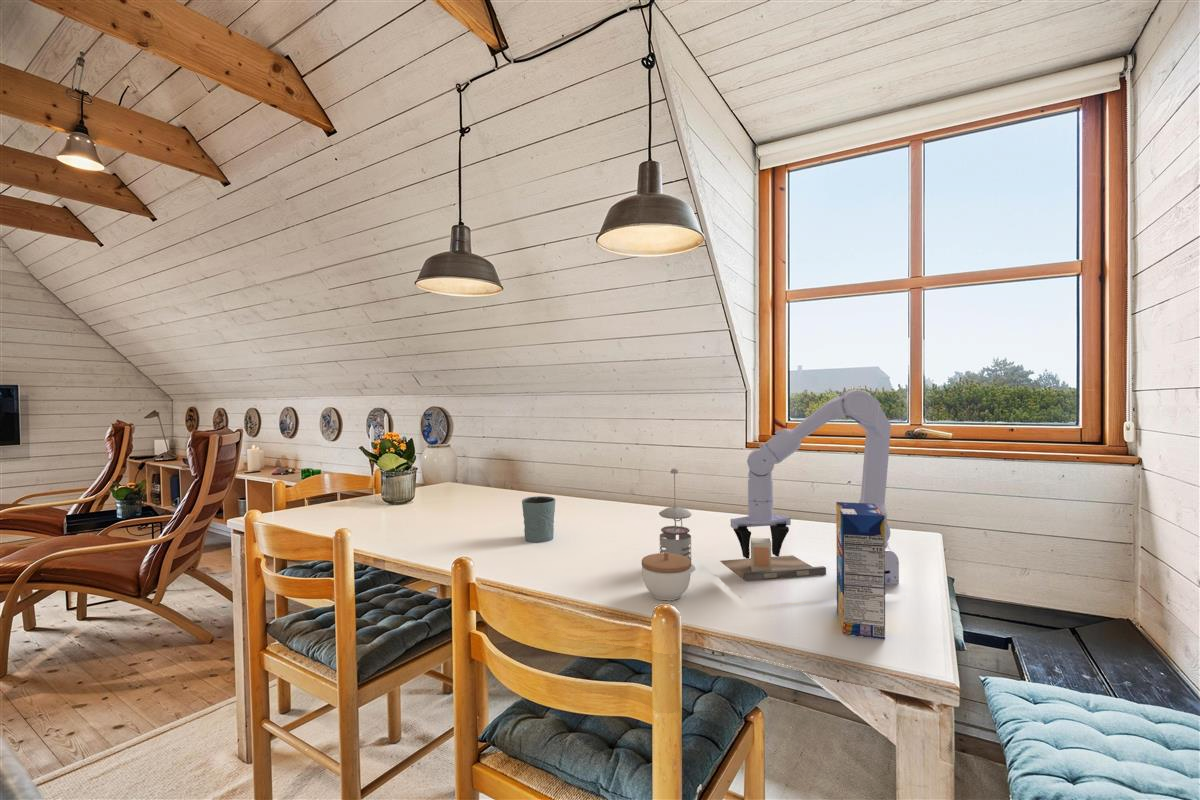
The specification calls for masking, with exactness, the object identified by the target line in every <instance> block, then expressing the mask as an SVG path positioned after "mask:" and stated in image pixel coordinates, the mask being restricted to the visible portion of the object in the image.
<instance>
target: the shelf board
mask: <svg viewBox="0 0 1200 800" xmlns="http://www.w3.org/2000/svg"><path fill="white" fill-rule="evenodd" d="M719 562H720V563H721V564H723V565H724V566H725V567H727V568H729V570H731V571H732V572H733V573H735V574H736V575H737V576H738V577H740V578H741V579H742V580H743V581H745V582H750V581H764V580H775V579H787V578H788V579H790V578H799V577H802V578H803V577H812V576H813V577H814V576H824V575H827V567H826V566H824V565H822V566H821V565H818V566H812V565H810V564H808V563H807V562H805V561H804V560H801V559H800V558H799V557H797V556H795V555H792V554H791V555H779V556H771V570H768V571H755V572H752V569H751V557H749V558H739V559H726V560H719Z"/></svg>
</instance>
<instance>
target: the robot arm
mask: <svg viewBox="0 0 1200 800" xmlns="http://www.w3.org/2000/svg"><path fill="white" fill-rule="evenodd" d="M846 417H848V418H850V419H852V420H854V421H855V422H856V423H857V424H858V426H860V427H861V428H862V429H863V430H864V431H865V442H864V443H865V444H864V454H863V465H862V477H861V478H862V479H861V488H860V489H861V490H860V499H859V501H858V503H869V504H875V505H876V506H877V508H878V509H879V510H880V511H881V512H882V514H883V515H884V516H885V586H890V585H892V586H893V585H899V584H900V574H899V573H900V570H899V569H900V561H899V557H898V555H897V554H896V552H894V551H892V550H891V548H890V546H889V539H890V537H891V529H890V526H889V524H888V512H887V507H886V503H885V502H886V490H887V482H888V481H887V479H888V468H889V457H890V456H889V455H890V442H891V433H892V432H891V431H892V430H891V429H892V426H891V422H890V421H889V419H888V417H887V416H886V414H885V412H884V411H883V408H882V407H881V405H880V402H879V400H878V399H877V398H875V397H874V396H873V395H872V394H870V392H868V391H866V390H861V389H860V390H858V389H857V390H856V389H855V390H854V389H847V390H846V391H843V392H842V393H841V394H840V395H839V396H836V397H833V398H832V399H830V400H828V401H826V403H824V404H822V405H821V406H820V407H819V408H818V409H816V410H815V411H814V412H813V413H811V414H810V415H809V416H807V417H806V418H805V419H803V421H801V422H799V424H797V425H796V426H795V427H794V428H791V429H790V428H783V429H782V430H780V429H777V430H776V431H775V432H774V434H775V435H773V436H772V437H771V438H770V439H768V440H767V441H766V442H765V443H762V442H761V443H760V444H758V447H759V448H756V449H754V450H751V452H750V453H749V454H748V456H747V460H746V464H747V466H748V469H749V470H748V474H747V475H748V476H747V477H748V480H747V500H748V501H747V507H748V508H747V511H748V512H747V513H748V515H746V516H743V517H735V518H730V527H731V528H732V530H733V531H734V533H735V535H736V537H737V539H738V543H739V545H740V548H741V549H740V550H741V553H742V557H743V558H744V559H750V557H751V548H750V545H751V535H752V532H751V531H750V530H749V528H757V527H768V526H769V527H770V533H771V555H773V556H774V557H777V556H780V555H781V554H780V552H781V549H782V545H783V543H784V541H785V539H786V536H787V534H788V533H789V531H790V527H789V526H791V524H792V523H791V519H792V518H791V517H790V516H788V515H774V493H773V492H774V491H773V490H774V489H773V488H774V487H773V486H774V485H773V483H774V482H773V479H772V478H773V477H772V471H773V470H774V468H775V465H776V464H780V463H782V462H783V461H784V460H786V459H787V458H789V457H790V456H791V455H792V454H794V453H795V452H796V451H798V450H800V448H801V447H802V446H801V445H802V440H803V439H805V438H807V437H808V436H810V435H811V434H812V433H814V432H815V431H817V430H818V429H820V428H821V427H823V426H824V425H825V424H827V423H829V422H830V421H833V420H843V419H846Z"/></svg>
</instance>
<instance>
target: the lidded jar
mask: <svg viewBox="0 0 1200 800" xmlns="http://www.w3.org/2000/svg"><path fill="white" fill-rule="evenodd" d="M691 564H692V559H691V560H690V559H689V558H688V557H686V556H683V555H679V554H672V553H668V552H664V553H660V552H659V553H652V554H647V555H646V556H644V557H643V558H642V559H641V572H642V579H643V583H644V585H645V587H646V589H647V591H648V592H649V593H651V595H652V597H653V598H654V599H657V600H659V601H663V600H668V601H667V602H669V601H671V600H672V601H676V600H675V599H677V600H679V599H681V597H682V595H683V594H684V593H685V592H686V591H687V590H688V587H689V586H690V582H691V576H692V572H691ZM678 598H679V599H678ZM672 601H671V602H672Z"/></svg>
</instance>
